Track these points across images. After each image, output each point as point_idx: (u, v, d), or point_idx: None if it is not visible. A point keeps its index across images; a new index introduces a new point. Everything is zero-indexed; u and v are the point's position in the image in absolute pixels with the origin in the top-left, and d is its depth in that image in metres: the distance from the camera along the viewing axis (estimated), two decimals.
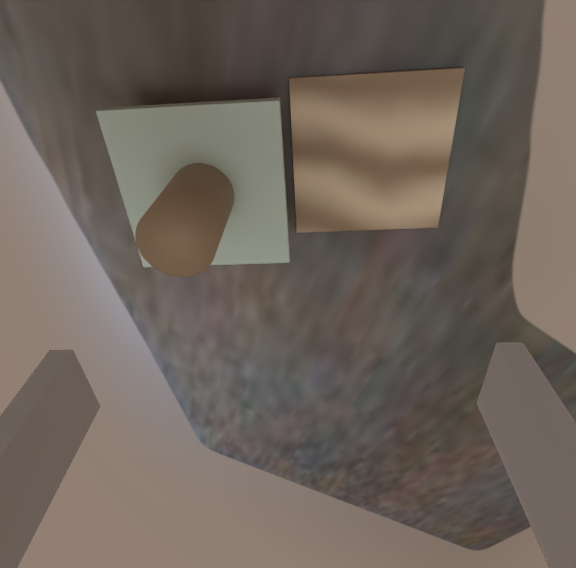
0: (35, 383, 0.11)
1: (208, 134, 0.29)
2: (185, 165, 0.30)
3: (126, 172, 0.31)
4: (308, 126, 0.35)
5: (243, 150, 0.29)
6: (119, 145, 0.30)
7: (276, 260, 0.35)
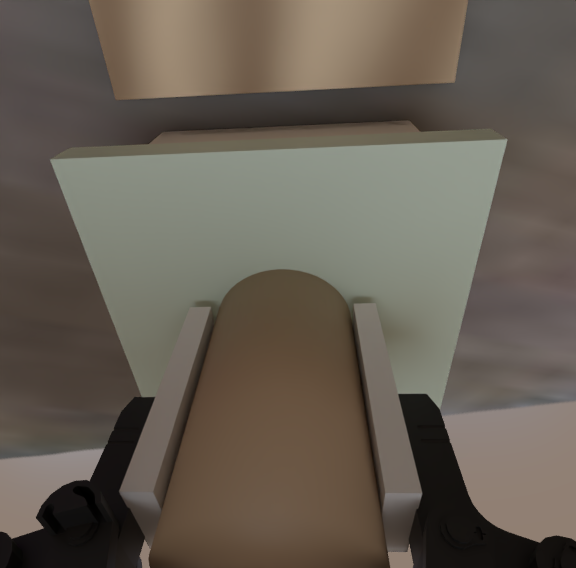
0: (189, 333, 0.13)
1: (158, 301, 0.15)
2: None
3: None
4: (198, 53, 0.16)
5: (178, 243, 0.13)
6: None
7: (488, 179, 0.12)
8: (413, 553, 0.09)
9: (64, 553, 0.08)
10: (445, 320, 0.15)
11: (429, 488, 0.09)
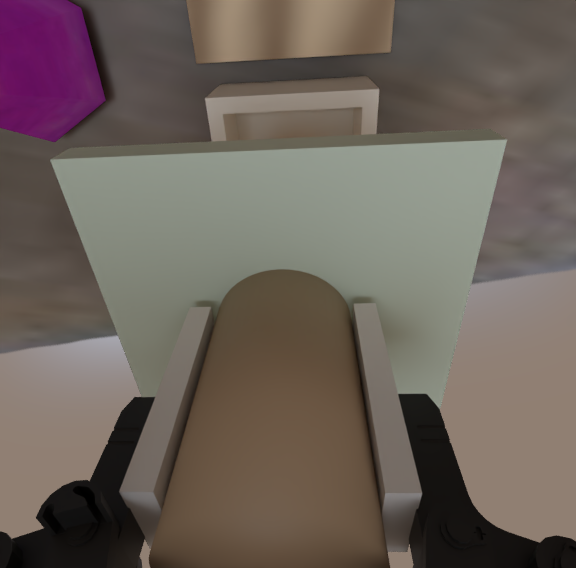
0: (189, 333, 0.13)
1: (158, 302, 0.15)
2: None
3: None
4: (245, 36, 0.28)
5: (178, 243, 0.13)
6: None
7: (488, 179, 0.12)
8: (413, 553, 0.09)
9: (64, 553, 0.08)
10: (445, 320, 0.15)
11: (429, 488, 0.09)
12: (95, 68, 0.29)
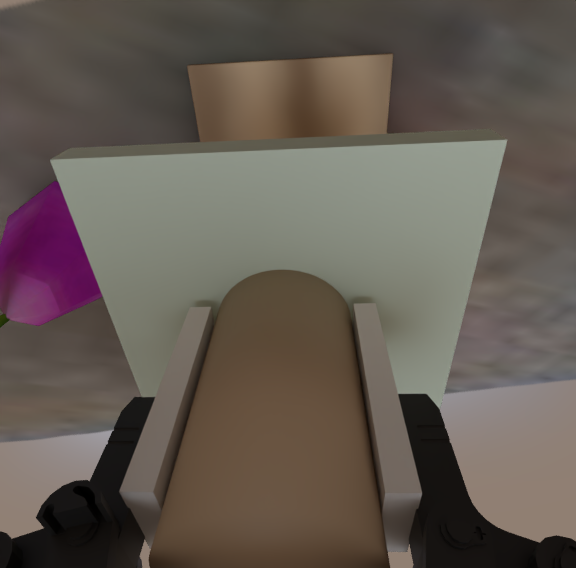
0: (189, 333, 0.13)
1: (158, 302, 0.15)
2: None
3: None
4: None
5: (178, 243, 0.13)
6: None
7: (488, 180, 0.12)
8: (413, 553, 0.09)
9: (64, 553, 0.08)
10: (445, 320, 0.15)
11: (429, 488, 0.09)
12: None
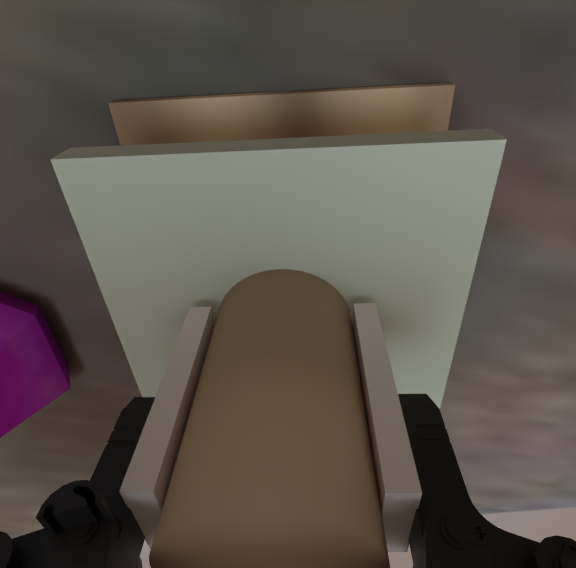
0: (189, 333, 0.13)
1: (158, 301, 0.15)
2: None
3: None
4: None
5: (178, 243, 0.13)
6: None
7: (488, 179, 0.12)
8: (413, 553, 0.09)
9: (64, 553, 0.08)
10: (445, 320, 0.15)
11: (429, 488, 0.09)
12: (55, 365, 0.24)
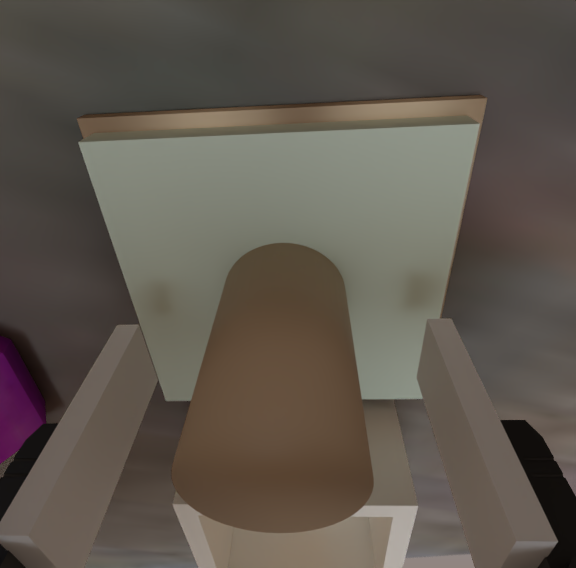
0: (109, 354, 0.12)
1: (171, 273, 0.16)
2: None
3: None
4: None
5: (190, 219, 0.15)
6: None
7: (464, 160, 0.13)
8: None
9: None
10: (430, 290, 0.16)
11: (554, 532, 0.08)
12: (29, 405, 0.21)
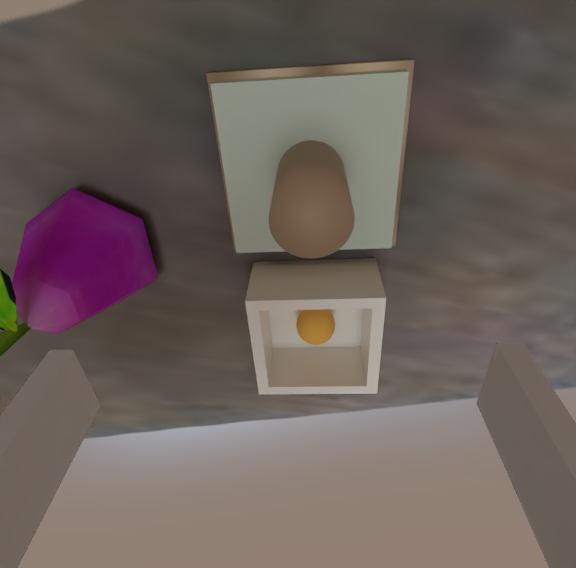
0: (35, 383, 0.11)
1: (248, 161, 0.29)
2: None
3: None
4: None
5: (262, 126, 0.28)
6: (263, 241, 0.33)
7: (403, 91, 0.26)
8: None
9: None
10: (390, 169, 0.29)
11: None
12: (151, 258, 0.35)
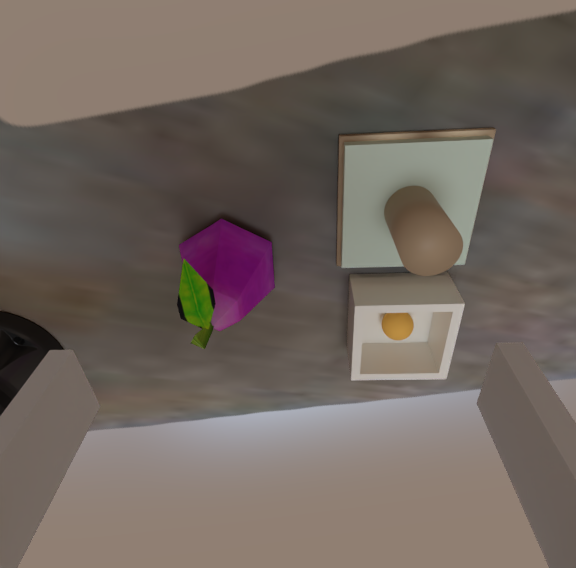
0: (35, 383, 0.11)
1: (364, 200, 0.39)
2: (384, 219, 0.40)
3: (384, 259, 0.43)
4: None
5: (378, 175, 0.37)
6: (364, 259, 0.43)
7: (487, 152, 0.36)
8: None
9: None
10: (471, 207, 0.39)
11: None
12: (273, 272, 0.44)
